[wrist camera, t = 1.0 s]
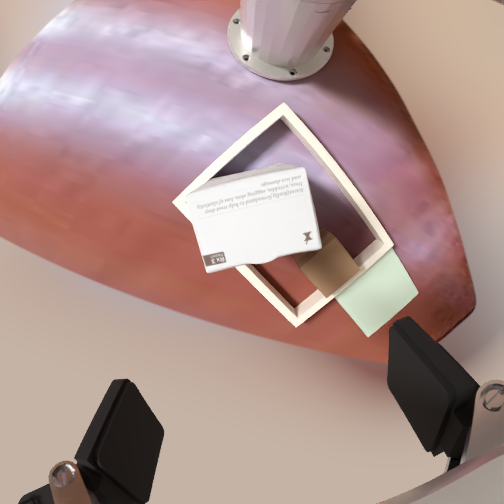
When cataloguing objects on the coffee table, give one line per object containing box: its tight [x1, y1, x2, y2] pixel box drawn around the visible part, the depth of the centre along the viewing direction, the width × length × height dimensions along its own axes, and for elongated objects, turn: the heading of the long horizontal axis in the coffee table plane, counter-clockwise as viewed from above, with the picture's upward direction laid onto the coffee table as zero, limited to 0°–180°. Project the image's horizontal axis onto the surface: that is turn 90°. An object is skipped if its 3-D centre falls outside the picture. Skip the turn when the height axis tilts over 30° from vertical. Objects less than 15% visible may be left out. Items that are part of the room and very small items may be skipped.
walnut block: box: [292, 227, 360, 299], centre depth 32 cm, size 5×5×5 cm
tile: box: [335, 247, 418, 337], centre depth 36 cm, size 10×10×1 cm
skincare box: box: [185, 163, 322, 273], centre depth 25 cm, size 8×6×15 cm
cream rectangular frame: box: [172, 103, 394, 327], centre depth 32 cm, size 16×21×2 cm
